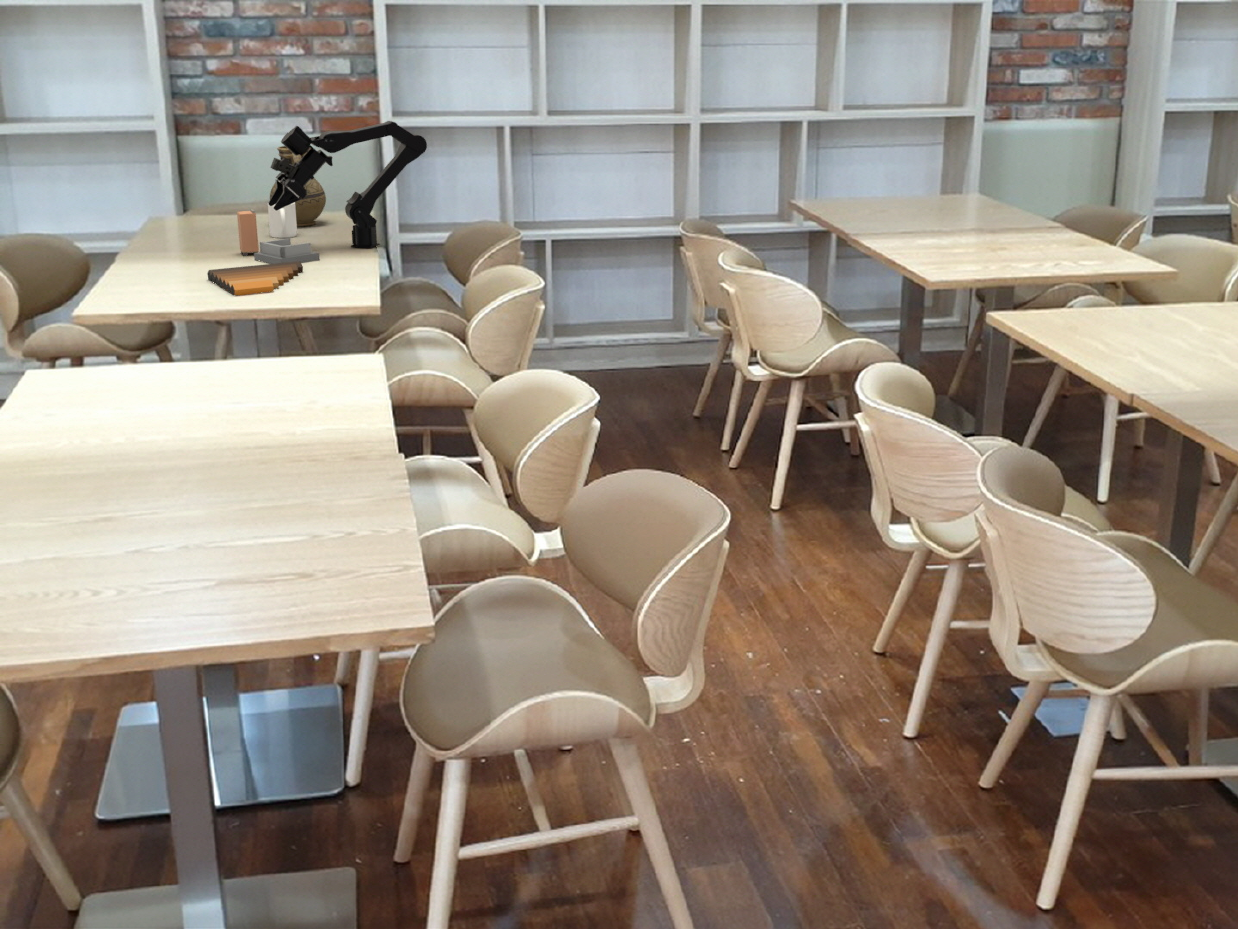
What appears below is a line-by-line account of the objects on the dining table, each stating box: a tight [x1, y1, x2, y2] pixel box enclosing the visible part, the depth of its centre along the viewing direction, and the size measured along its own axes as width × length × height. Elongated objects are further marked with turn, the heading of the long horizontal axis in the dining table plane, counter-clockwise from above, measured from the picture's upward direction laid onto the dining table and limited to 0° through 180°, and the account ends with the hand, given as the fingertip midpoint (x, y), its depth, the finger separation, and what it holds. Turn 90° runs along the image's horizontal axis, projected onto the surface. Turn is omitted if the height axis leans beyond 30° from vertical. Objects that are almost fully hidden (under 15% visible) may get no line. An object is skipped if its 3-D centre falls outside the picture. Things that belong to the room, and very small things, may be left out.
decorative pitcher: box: [269, 145, 327, 227], centre depth 459 cm, size 22×18×25 cm
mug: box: [267, 202, 298, 239], centre depth 439 cm, size 12×8×10 cm
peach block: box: [236, 208, 260, 257], centre depth 411 cm, size 4×6×13 cm
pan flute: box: [206, 261, 304, 296], centre depth 373 cm, size 25×3×25 cm
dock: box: [253, 238, 320, 264], centre depth 403 cm, size 13×13×5 cm
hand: (272, 207), depth 411 cm, fingers open, 9 cm apart
